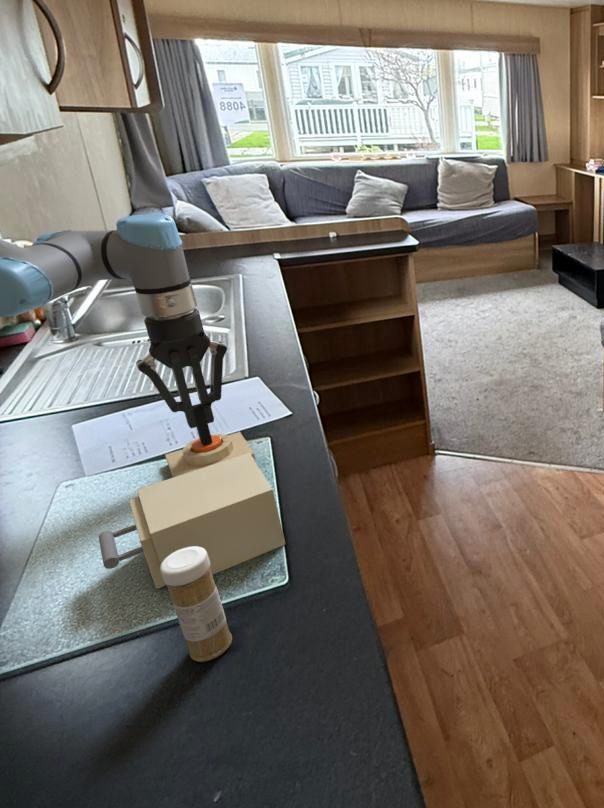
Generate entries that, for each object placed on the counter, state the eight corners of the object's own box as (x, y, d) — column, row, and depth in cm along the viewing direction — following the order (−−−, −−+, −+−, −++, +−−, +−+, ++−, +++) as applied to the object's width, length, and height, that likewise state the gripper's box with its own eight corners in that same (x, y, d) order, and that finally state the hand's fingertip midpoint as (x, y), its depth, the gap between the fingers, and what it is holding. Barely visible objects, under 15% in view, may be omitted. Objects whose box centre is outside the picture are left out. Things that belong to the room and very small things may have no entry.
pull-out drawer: (116, 605, 82) (98, 556, 80) (107, 558, 91) (90, 512, 88) (266, 544, 93) (255, 499, 90) (246, 507, 101) (235, 464, 98)
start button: (196, 460, 110) (194, 451, 109) (191, 449, 113) (189, 441, 113) (225, 451, 113) (223, 442, 112) (219, 441, 116) (217, 432, 115)
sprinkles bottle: (221, 627, 80) (194, 539, 75) (240, 644, 78) (214, 554, 73) (182, 652, 77) (151, 561, 72) (200, 670, 74) (170, 578, 69)
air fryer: (169, 592, 86) (150, 533, 82) (154, 544, 95) (136, 489, 91) (285, 544, 94) (272, 489, 91) (262, 504, 103) (249, 452, 100)
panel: (178, 490, 107) (172, 470, 105) (168, 465, 114) (162, 445, 113) (256, 464, 114) (251, 444, 113) (242, 441, 121) (237, 422, 120)
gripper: (125, 329, 97) (166, 463, 106) (221, 309, 105) (252, 436, 113) (119, 316, 102) (158, 445, 111) (211, 298, 110) (241, 420, 119)
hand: (206, 440), depth 112 cm, fingers closed
